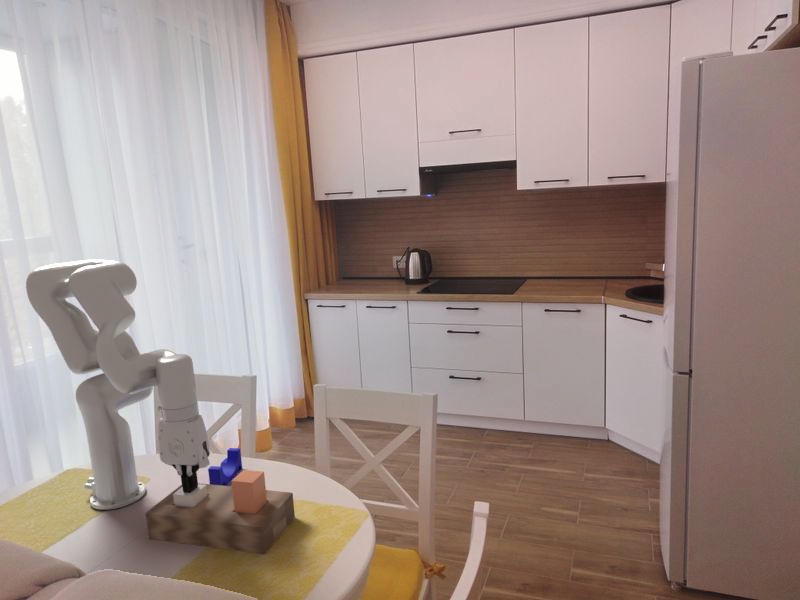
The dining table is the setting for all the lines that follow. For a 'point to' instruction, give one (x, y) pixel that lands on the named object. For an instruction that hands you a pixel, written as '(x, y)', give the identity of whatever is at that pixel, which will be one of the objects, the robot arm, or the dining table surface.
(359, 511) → the dining table surface
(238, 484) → the terracotta plunger
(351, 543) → the dining table surface
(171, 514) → the button box
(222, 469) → the cable clip
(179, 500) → the white rectangular block
